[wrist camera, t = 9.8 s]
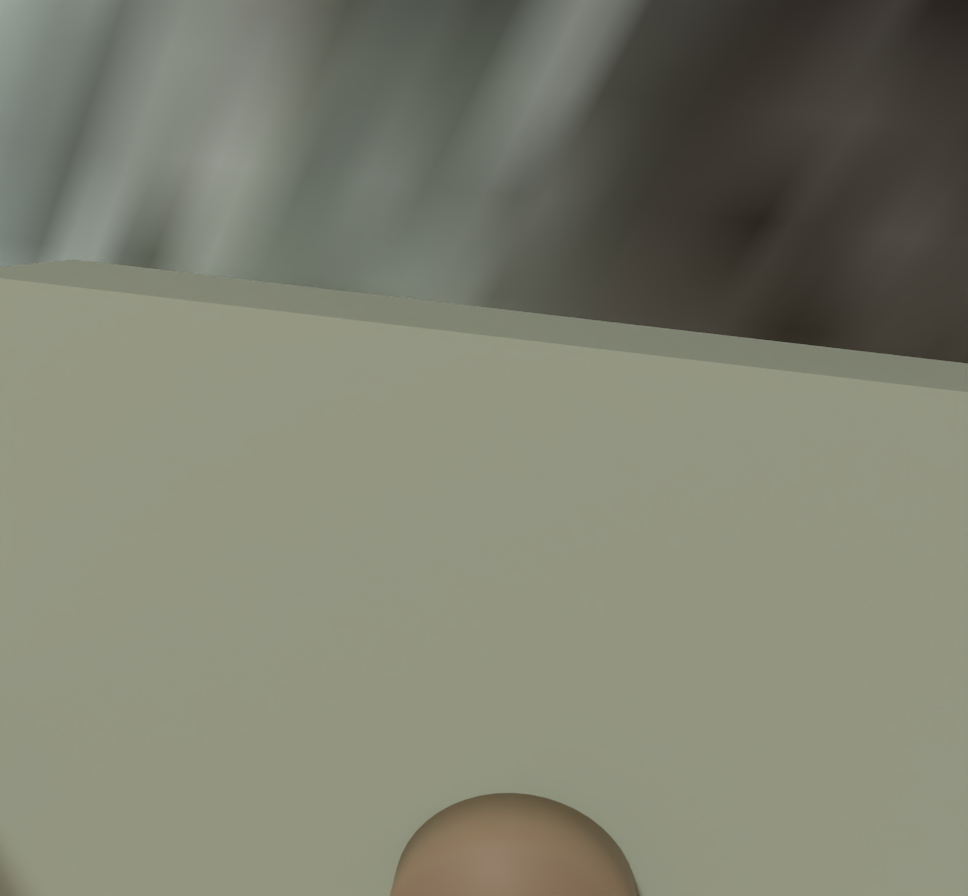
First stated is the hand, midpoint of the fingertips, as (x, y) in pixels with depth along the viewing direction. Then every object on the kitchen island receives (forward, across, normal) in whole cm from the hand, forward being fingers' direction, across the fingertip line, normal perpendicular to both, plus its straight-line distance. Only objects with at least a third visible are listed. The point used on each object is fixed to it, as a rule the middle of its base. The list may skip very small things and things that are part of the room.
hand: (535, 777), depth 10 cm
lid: (0, 0, 0) cm, 1 cm away
